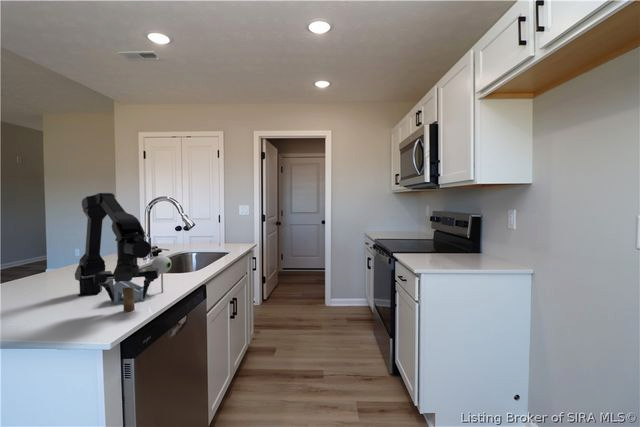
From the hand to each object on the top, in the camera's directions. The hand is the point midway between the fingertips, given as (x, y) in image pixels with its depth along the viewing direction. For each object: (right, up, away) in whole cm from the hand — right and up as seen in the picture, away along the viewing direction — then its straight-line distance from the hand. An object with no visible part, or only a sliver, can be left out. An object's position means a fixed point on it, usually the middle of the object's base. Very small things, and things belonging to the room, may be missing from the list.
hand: (128, 300), depth 109 cm
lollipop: (+1, -3, +21) cm, 21 cm away
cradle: (-7, -3, +11) cm, 14 cm away
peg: (0, -4, 0) cm, 4 cm away
